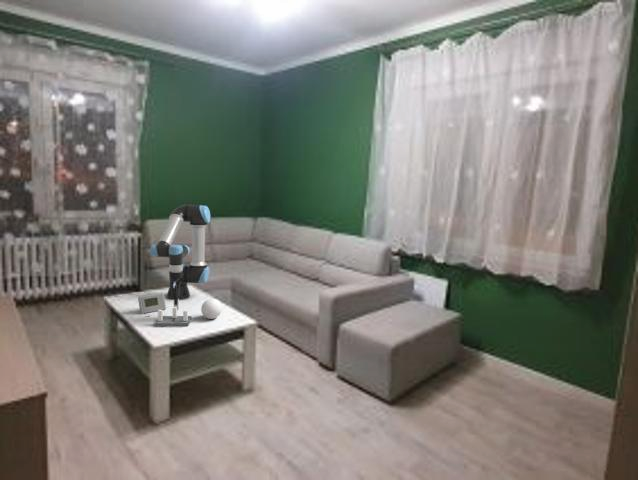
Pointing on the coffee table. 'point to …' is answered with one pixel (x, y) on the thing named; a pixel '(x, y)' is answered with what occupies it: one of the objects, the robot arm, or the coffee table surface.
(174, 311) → the breaker
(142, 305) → the digital clock
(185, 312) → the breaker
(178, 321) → the board
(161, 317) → the breaker
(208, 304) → the decorative ball
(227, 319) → the coffee table surface
